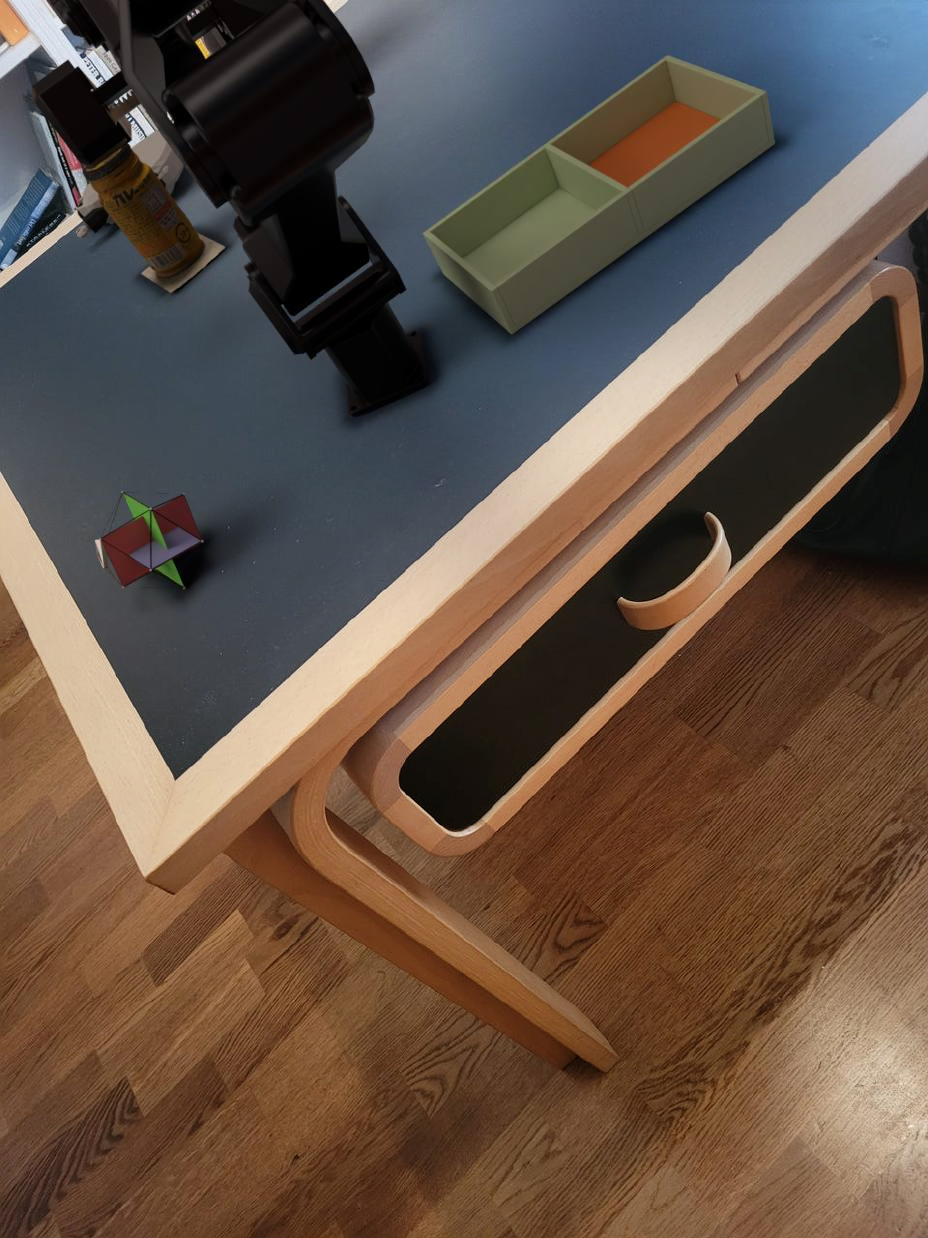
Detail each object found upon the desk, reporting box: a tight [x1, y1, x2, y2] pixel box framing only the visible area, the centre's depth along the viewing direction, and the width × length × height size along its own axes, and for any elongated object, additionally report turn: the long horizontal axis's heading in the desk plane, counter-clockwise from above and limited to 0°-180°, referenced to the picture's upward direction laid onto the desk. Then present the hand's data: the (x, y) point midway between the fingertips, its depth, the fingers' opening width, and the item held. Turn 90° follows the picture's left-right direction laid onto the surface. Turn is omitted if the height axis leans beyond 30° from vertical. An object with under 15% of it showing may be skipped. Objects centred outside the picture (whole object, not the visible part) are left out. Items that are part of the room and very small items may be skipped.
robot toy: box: [75, 118, 185, 240], centre depth 109 cm, size 12×4×15 cm
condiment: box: [82, 143, 226, 294], centre depth 92 cm, size 7×8×12 cm
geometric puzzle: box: [94, 490, 205, 590], centre depth 67 cm, size 7×7×8 cm
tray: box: [422, 54, 776, 335], centre depth 70 cm, size 24×12×4 cm, turn 118°
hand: (168, 85), depth 78 cm, fingers open, 9 cm apart
